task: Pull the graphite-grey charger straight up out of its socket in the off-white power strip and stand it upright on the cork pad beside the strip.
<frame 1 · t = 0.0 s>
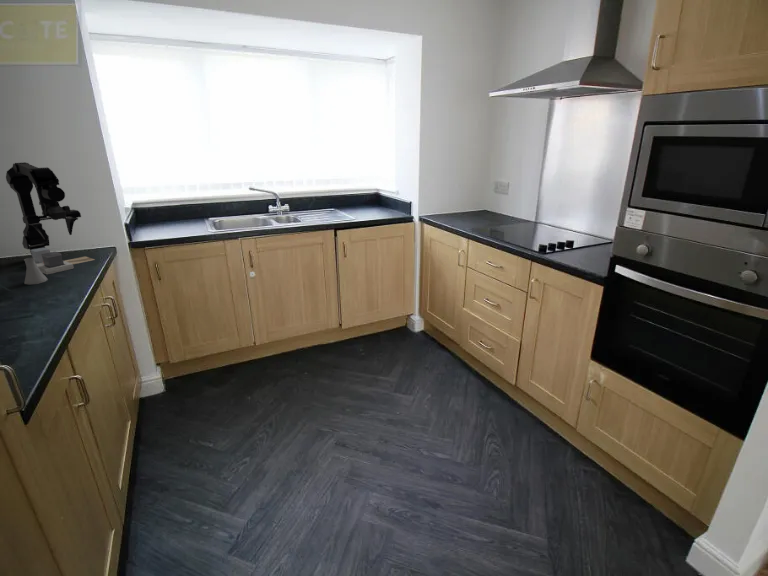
hand: (58, 236, 177), 15 cm above the countertop, tool pointing down, fingers open, 9 cm apart
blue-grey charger: (44, 264, 188), resting on power strip
flask: (36, 283, 167), on the countertop
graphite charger: (55, 269, 182), resting on power strip
power strip: (50, 268, 185), on the countertop
cork pad: (79, 261, 195), on the countertop
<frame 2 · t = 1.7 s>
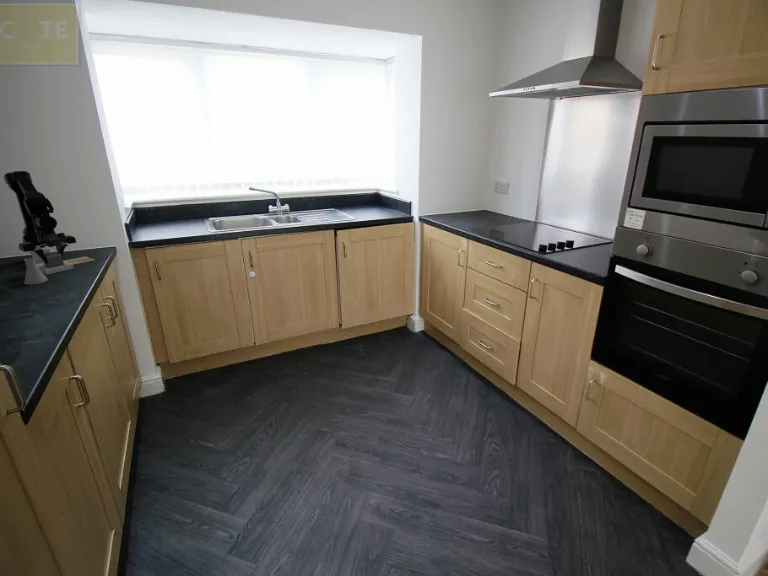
hand: (53, 262, 180), 4 cm above the countertop, tool pointing down, fingers closed on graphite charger, 5 cm apart
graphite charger: (55, 269, 182), resting on power strip, touching gripper
everything else where it was.
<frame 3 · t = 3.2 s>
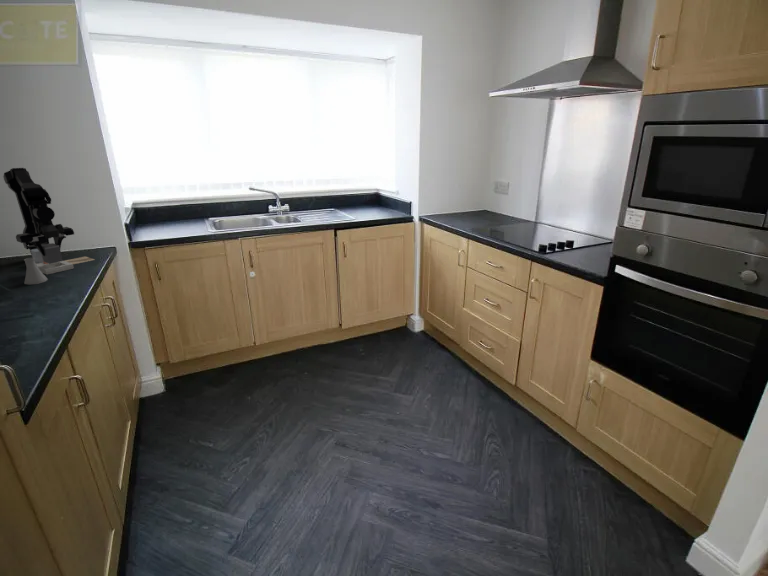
hand: (51, 254, 179), 7 cm above the countertop, tool pointing down, fingers closed on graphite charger, 5 cm apart
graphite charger: (53, 261, 180), point 4 cm above the countertop, touching gripper
everything else where it was.
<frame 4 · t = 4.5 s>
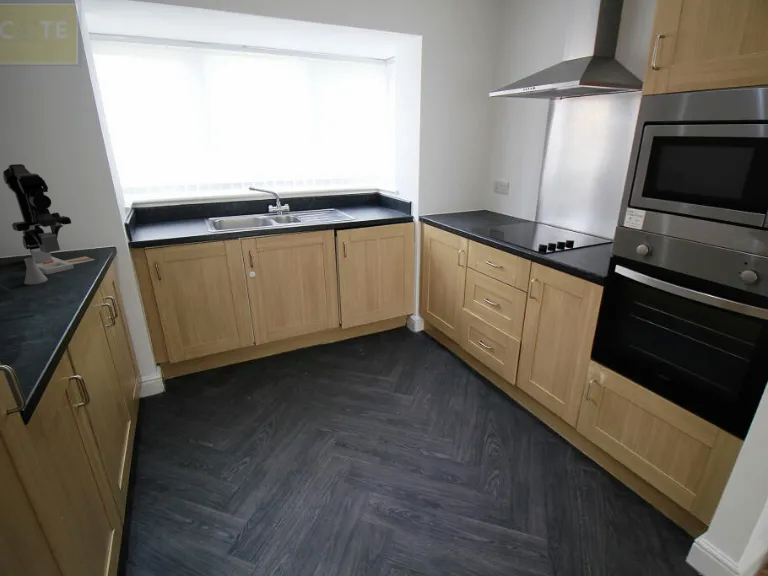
hand: (48, 243, 178), 12 cm above the countertop, tool pointing down, fingers closed on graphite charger, 5 cm apart
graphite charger: (50, 250, 179), point 9 cm above the countertop, touching gripper
everything else where it was.
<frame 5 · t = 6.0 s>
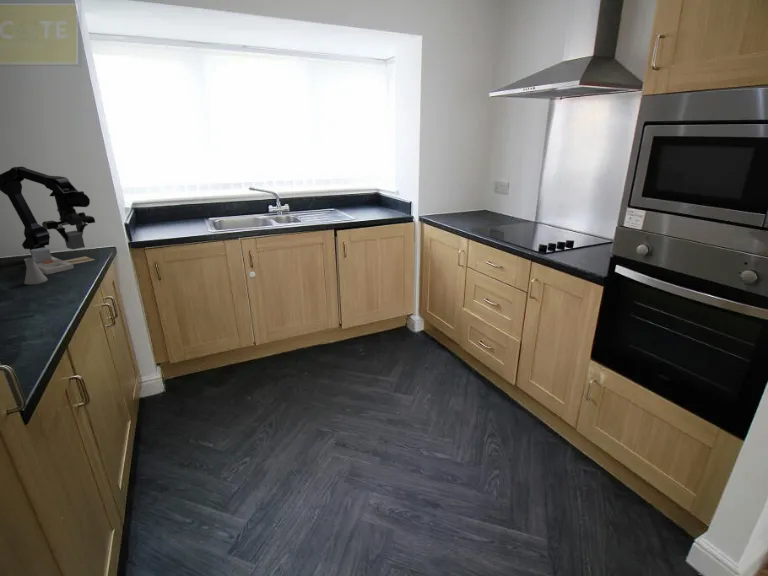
hand: (74, 241, 191), 10 cm above the countertop, tool pointing down, fingers closed on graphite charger, 5 cm apart
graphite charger: (75, 247, 192), point 7 cm above the countertop, touching gripper
everything else where it was.
when the fingers open (5 cm above the countertop, at t = 7.1 s): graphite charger drops 1 cm, resting on cork pad.
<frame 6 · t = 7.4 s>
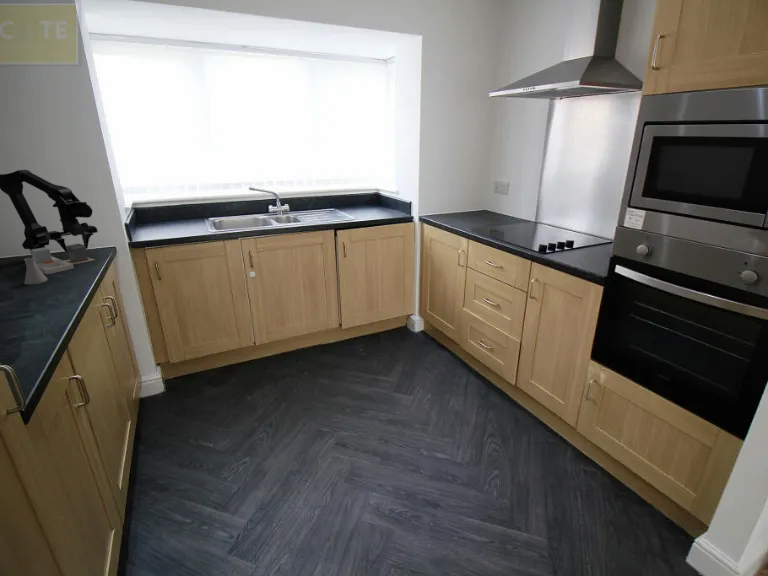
hand: (76, 250, 193), 5 cm above the countertop, tool pointing down, fingers open, 8 cm apart
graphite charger: (79, 260, 194), resting on cork pad
everything else where it was.
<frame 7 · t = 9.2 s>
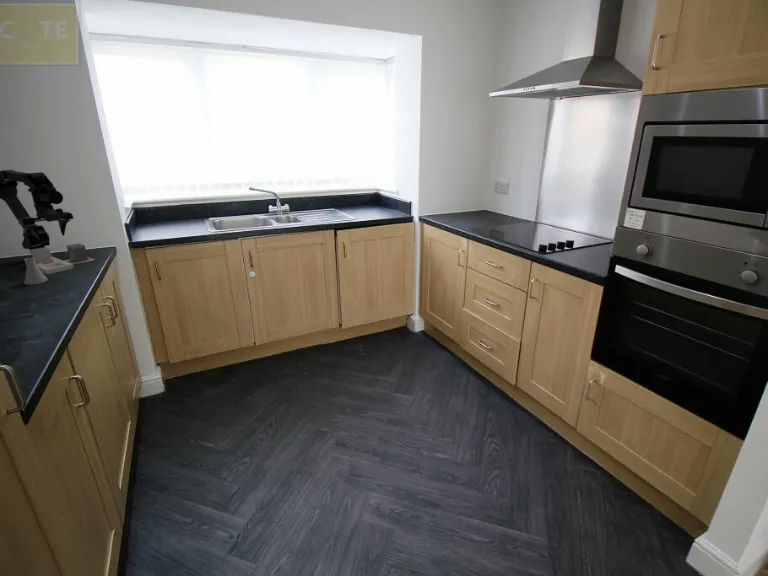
hand: (51, 237, 189), 12 cm above the countertop, tool pointing down, fingers open, 9 cm apart
nothing on the countertop moved.
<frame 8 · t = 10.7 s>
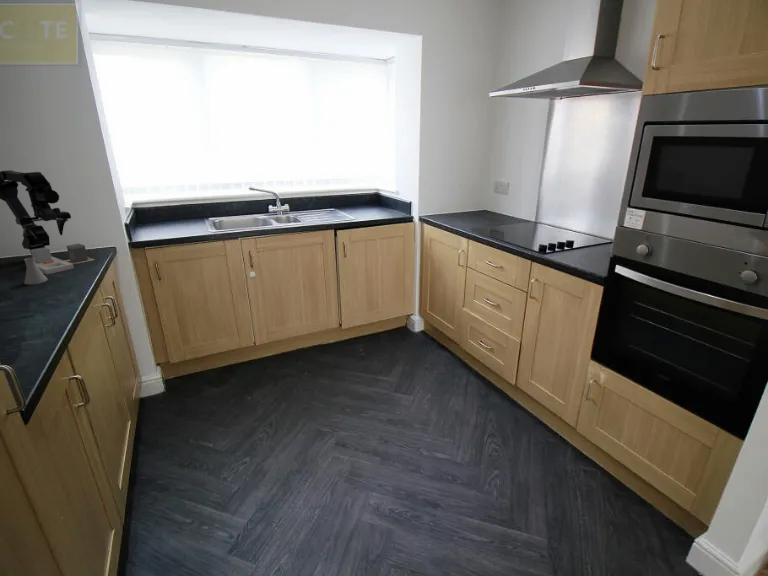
hand: (49, 237, 188), 12 cm above the countertop, tool pointing down, fingers open, 9 cm apart
nothing on the countertop moved.
at the end: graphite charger 0.0 cm off-centre on the cork pad, point 0.5 cm above the cork pad's base; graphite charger tilted 0°; the gripper is holding nothing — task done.
